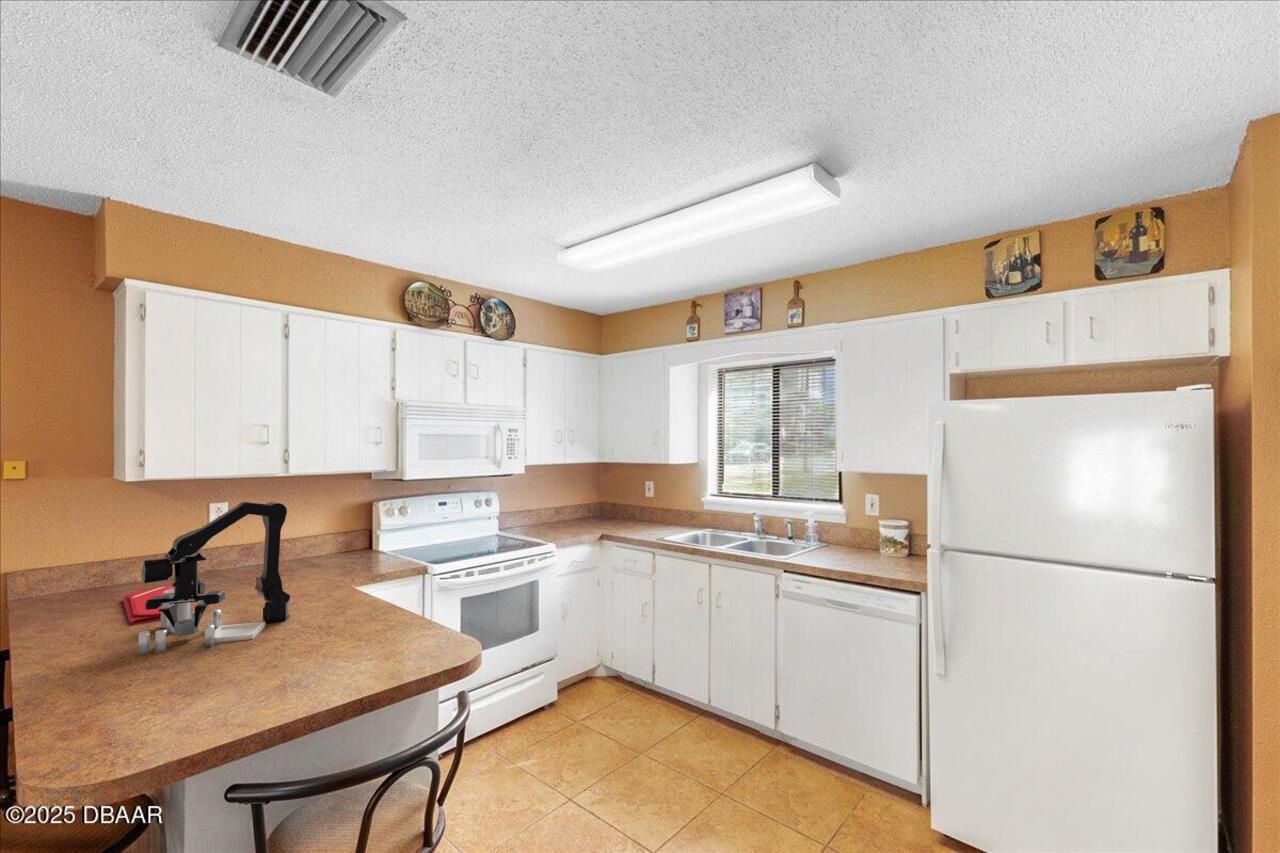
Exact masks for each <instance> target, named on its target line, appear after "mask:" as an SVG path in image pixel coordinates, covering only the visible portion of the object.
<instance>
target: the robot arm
mask: <svg viewBox="0 0 1280 853" xmlns="http://www.w3.org/2000/svg"><path fill="white" fill-rule="evenodd" d="M287 514H288V508H287V507H286V506H285V504H282V503H280V502H275V501H270V502H267V503H258V502H249V501H241V502H240V503H238V504H237V505H235V506H234V507H233V508H231V509H229V510H228V511H225V512H224V513H223V514H222V515H220V516H218V517H216V518H215V519H213V520H211V521H209V522H208V523H207V524H205V525H203V526H202V527H200V528H196V529H194V530H191V531H189V532H186V533H184V534H181V535H179V536H177V537H176V538H175V539H174V540H173V542H172V547H171V548H170V549H169V551H168V552H166V554H165V556H164V557H161V558H155V559H154V558H153V559H144V560H143V564H142V568H141V570H140V575H141V582H142V584H144V585H145V584H150V583H156V582H164V581H168V580H169V578H171V577H172V576H174V577H173V580H174V581H173V583H172V587H174V596H173V598H170V597H169V595H160V596H154V597H152V598H150V599H149V600H147V601H146V603H145V610H150V609H158V608H159V607H160V609H159V610H158V611H162V612H163V613H164V615H165V616H166V617H167V618H168V620H169V621H170V623H171V625H172V626H173V628H174V624H175V623H177V622H178V620H177V606H178V603H189V602H190V603H197V605H195V606H194V612H195V627H198V625H199V626H200V622H201V620H202V618H203V614H204V613H205V611H206V608H208V607H209V606H210V605H217V604H220V603H221V602H222V601H224V600H225V599H226V593H225V591H224V590H223V589H222V590H211V591H209V592H207V593H205V589H206V582H202V581H201V579H200V577H199V562H201V561H206V559H207V558H206V557H205V556H203V555H202V554H201V553H200V552H198V551H200V550H201V549H203V547H204V546H205V545H206V544H207V543H208V542H209V541H210V540H211V539H212V538H214V537H215V536H216V535H218V534H219V533H221V532H223V531H224V530H226V529H228V528H229V527H231V526H233V525H234V524H235V523H237V522H239V521H240V520H241V519H243V518H245V517H247V516H248V515H254V516H261V518H262V522H263V525H264V529H265V532H264V534H265V535H264V548H263V549H264V550H263V551H264V552H263V553H264V554H263V567H262V568H263V569H262V573H261V574H260V576H256V577H255V587H254V589H255V590H256V592H257V594H258V595H259V596H260V597H261V598H263V600H264V601H265V603H264V607H262V622H265V624H269V623H280V622H286V620H287V619H288V618H289V617H290V616H291V615H290V614H289V601H290V598H291V595H290V594H289V593H287V592H286V591H284V589H283V581H282V578H281V575H280V573H279V568H280V567H279V566H280V549H281V533H282V531H281V530H282V528H283V525H284V523H285V522H286V518H287ZM173 566H174V567H173ZM189 599H190V600H189ZM179 600H180V601H179Z"/></svg>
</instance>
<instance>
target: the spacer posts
mask: <svg viewBox="0 0 1280 853" xmlns="http://www.w3.org/2000/svg"><path fill="white" fill-rule="evenodd" d="M190 619H195V611H192V612H191V611H190ZM219 626H222V609H213V610H211V624H208V625H206V626H204V639H205V644H204V648H205V649H209V648H213V647H215V646H216V643H215V630H216V629H217V628H218V627H219ZM199 631H200V624H199V625H198V631H197V632H199ZM150 634H151V633H150V630H145V631H141V632H138V656H144V655H147V654H150V652H151V651H150V650H151V648H150V647H151V646H150V645H151V643H150V641H151V640H150ZM167 635H168V636H170V635H174V628H173V626H172V625H171V623H170V621H169V620H168V618H167V629H164V628H162V629H159V630H156V631H155V654H162V653H165V652H167Z"/></svg>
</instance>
